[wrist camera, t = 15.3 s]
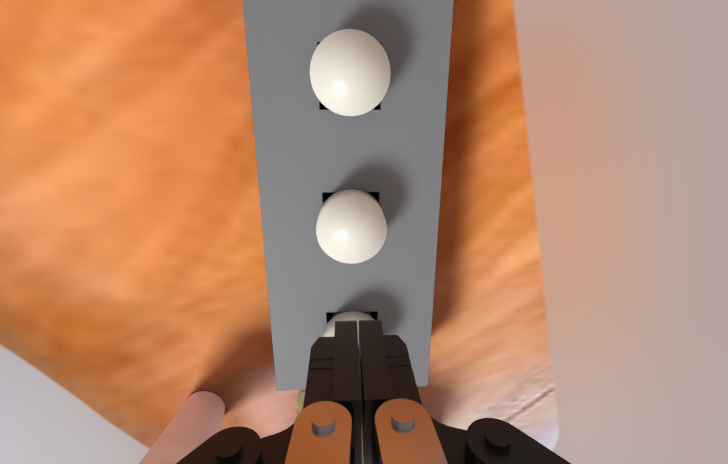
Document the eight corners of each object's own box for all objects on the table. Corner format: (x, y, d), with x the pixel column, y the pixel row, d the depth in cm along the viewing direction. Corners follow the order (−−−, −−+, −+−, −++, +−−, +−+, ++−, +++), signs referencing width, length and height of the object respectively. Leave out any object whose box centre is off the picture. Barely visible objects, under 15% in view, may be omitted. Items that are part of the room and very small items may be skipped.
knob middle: (321, 176, 29) (314, 196, 23) (378, 175, 30) (387, 195, 23) (323, 230, 31) (317, 264, 24) (378, 230, 31) (386, 263, 25)
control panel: (260, 1, 26) (240, -21, 21) (435, 3, 27) (454, -18, 22) (286, 351, 35) (276, 390, 30) (416, 348, 36) (427, 386, 31)
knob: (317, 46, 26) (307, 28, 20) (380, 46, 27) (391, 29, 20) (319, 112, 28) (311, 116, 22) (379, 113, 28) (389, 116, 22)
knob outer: (324, 282, 32) (319, 327, 26) (377, 282, 32) (384, 325, 26) (326, 328, 34) (321, 381, 27) (376, 327, 34) (383, 379, 27)
